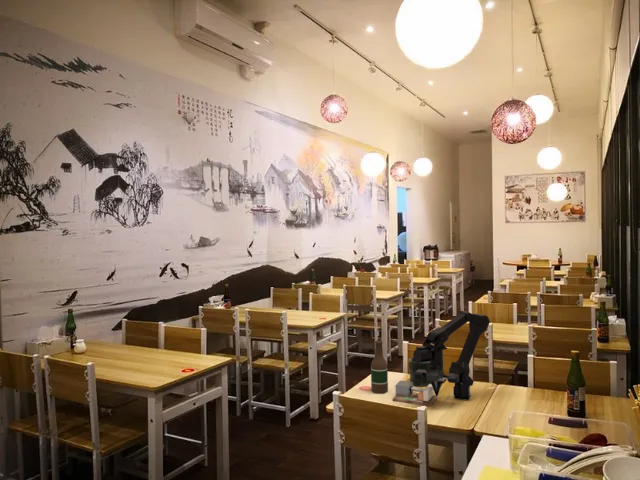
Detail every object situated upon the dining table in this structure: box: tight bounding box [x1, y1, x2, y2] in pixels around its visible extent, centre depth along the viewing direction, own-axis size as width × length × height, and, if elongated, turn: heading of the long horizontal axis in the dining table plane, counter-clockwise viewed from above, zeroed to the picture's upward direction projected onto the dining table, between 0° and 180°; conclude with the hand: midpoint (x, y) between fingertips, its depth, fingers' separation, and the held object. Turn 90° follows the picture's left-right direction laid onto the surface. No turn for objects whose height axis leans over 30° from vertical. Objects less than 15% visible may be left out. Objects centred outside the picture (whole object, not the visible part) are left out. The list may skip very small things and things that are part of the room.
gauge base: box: [392, 391, 439, 407], centre depth 225 cm, size 17×12×1 cm
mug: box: [408, 356, 431, 388], centre depth 248 cm, size 11×15×12 cm
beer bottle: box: [370, 339, 389, 395], centre depth 236 cm, size 8×8×24 cm
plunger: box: [411, 384, 435, 401], centre depth 224 cm, size 9×10×4 cm
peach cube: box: [417, 392, 423, 401], centre depth 220 cm, size 2×2×3 cm
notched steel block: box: [395, 380, 414, 398], centre depth 228 cm, size 6×7×5 cm
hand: (436, 395), depth 220 cm, fingers closed
